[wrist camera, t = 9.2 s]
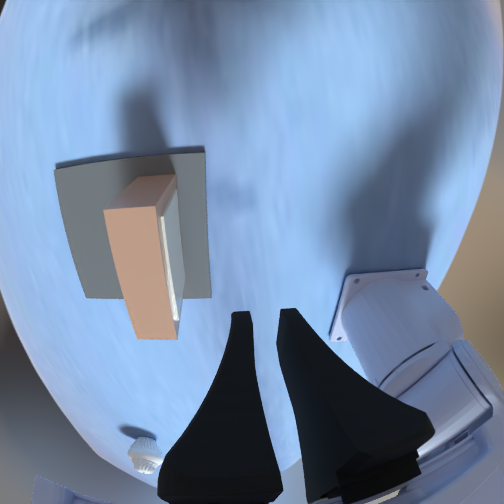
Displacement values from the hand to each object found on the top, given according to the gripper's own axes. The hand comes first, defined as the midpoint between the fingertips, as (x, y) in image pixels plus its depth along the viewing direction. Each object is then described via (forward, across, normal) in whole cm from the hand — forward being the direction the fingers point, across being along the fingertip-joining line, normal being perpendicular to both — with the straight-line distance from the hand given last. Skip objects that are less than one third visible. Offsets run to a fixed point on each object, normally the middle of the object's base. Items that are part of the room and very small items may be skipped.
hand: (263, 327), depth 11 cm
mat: (+9, +8, 0) cm, 12 cm away
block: (+9, +6, 0) cm, 11 cm away
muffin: (+10, +16, +38) cm, 43 cm away
